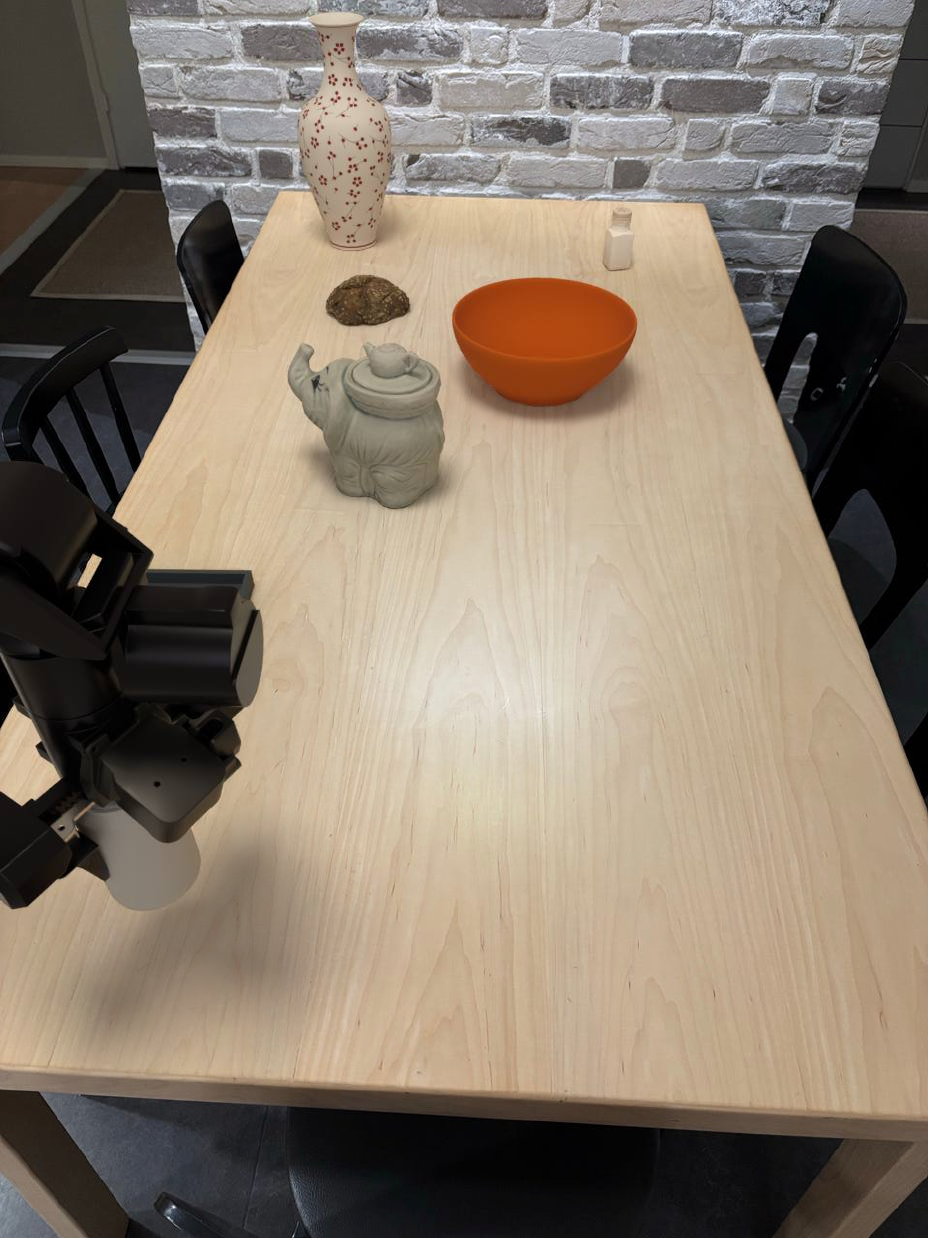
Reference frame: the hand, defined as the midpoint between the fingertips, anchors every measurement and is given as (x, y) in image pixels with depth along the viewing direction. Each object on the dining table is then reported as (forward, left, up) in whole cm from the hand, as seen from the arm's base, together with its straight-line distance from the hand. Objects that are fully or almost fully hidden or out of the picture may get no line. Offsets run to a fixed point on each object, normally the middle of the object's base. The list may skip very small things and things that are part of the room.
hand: (141, 839), depth 61 cm
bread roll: (+55, +92, -13) cm, 108 cm away
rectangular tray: (+8, +31, -12) cm, 35 cm away
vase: (+64, +119, -13) cm, 136 cm away
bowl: (+68, +59, -13) cm, 91 cm away
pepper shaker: (+101, +88, -13) cm, 135 cm away
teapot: (+37, +48, -13) cm, 62 cm away
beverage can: (0, 0, -5) cm, 5 cm away
